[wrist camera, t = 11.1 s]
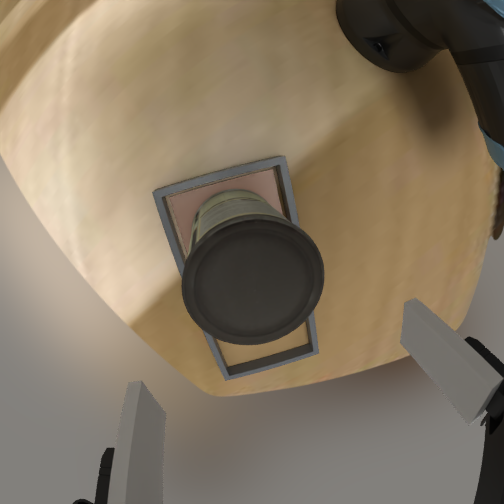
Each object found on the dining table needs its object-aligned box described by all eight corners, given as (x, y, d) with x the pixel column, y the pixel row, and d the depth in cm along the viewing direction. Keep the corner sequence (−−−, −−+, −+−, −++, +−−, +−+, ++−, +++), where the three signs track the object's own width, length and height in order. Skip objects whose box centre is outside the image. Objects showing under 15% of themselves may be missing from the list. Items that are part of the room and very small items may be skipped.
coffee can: (292, 247, 34) (340, 307, 21) (217, 285, 34) (226, 364, 21) (256, 171, 30) (293, 188, 17) (174, 214, 30) (152, 262, 17)
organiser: (280, 155, 30) (285, 155, 28) (314, 345, 41) (319, 353, 39) (155, 189, 29) (152, 192, 28) (224, 371, 40) (225, 380, 38)
